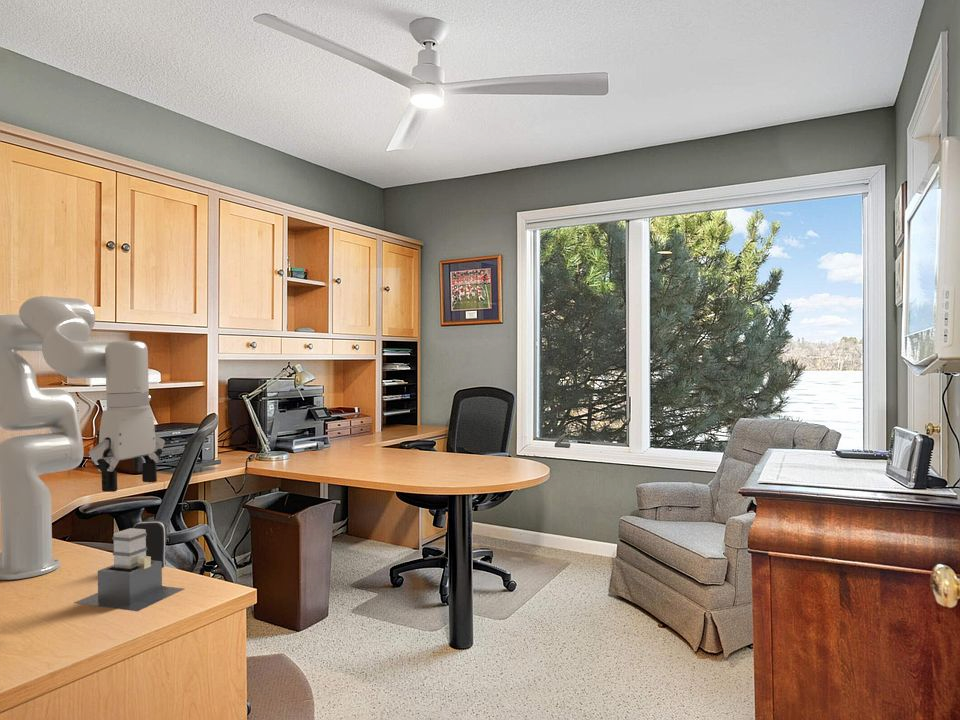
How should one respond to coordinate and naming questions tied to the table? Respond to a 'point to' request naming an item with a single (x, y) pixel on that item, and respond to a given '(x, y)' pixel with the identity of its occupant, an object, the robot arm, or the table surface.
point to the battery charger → (155, 539)
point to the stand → (130, 587)
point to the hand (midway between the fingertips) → (130, 486)
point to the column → (129, 549)
